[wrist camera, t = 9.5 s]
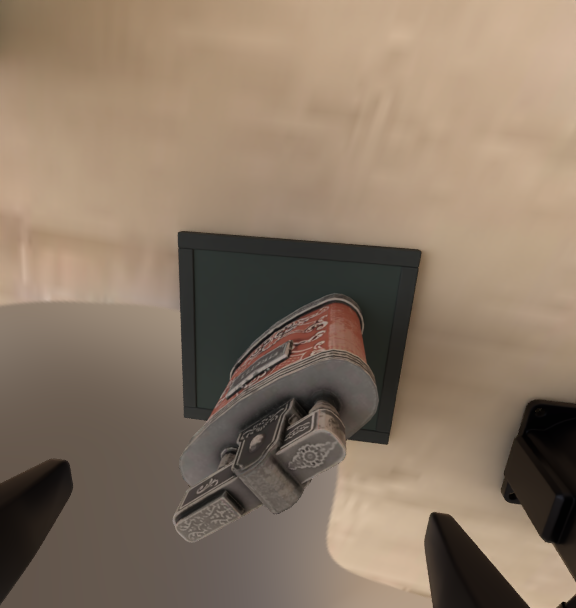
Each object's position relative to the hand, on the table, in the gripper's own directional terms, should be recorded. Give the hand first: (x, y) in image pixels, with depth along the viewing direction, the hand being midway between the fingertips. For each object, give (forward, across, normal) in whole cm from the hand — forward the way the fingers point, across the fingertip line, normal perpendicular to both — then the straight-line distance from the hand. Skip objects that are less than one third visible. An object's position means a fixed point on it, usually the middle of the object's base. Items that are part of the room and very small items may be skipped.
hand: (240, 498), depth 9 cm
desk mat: (+11, 0, +1) cm, 11 cm away
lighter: (+11, 0, +1) cm, 11 cm away
